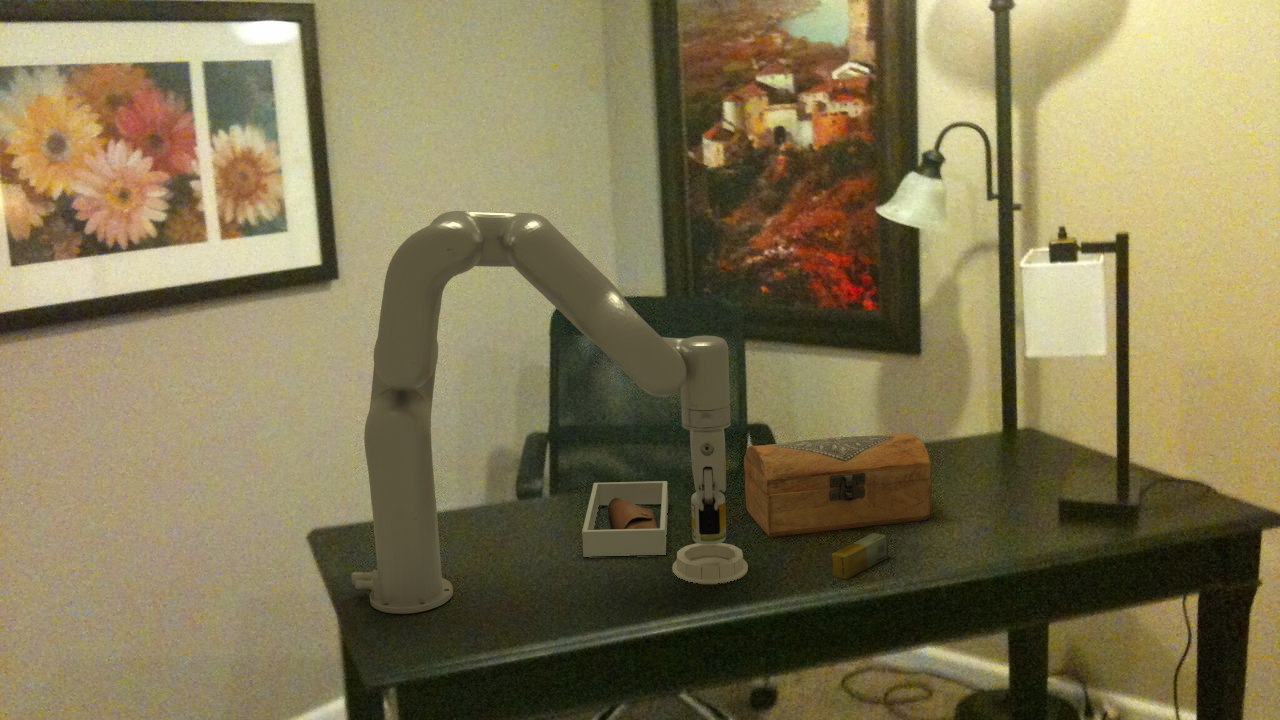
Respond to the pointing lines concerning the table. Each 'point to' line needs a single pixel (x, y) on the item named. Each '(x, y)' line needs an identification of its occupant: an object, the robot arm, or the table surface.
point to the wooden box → (838, 483)
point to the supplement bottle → (695, 507)
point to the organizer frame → (626, 539)
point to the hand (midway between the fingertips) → (709, 525)
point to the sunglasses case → (630, 515)
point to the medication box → (859, 555)
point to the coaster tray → (710, 563)
